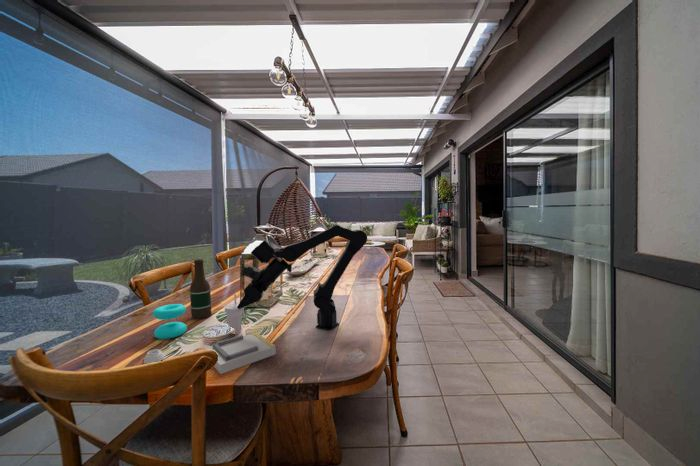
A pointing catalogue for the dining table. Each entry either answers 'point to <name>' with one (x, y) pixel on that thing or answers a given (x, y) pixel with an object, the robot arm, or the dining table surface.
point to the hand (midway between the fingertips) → (241, 304)
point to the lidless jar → (153, 356)
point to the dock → (241, 351)
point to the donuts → (173, 327)
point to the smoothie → (234, 316)
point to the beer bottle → (200, 293)
